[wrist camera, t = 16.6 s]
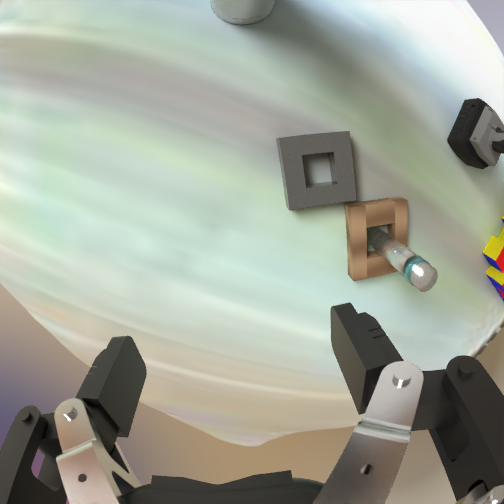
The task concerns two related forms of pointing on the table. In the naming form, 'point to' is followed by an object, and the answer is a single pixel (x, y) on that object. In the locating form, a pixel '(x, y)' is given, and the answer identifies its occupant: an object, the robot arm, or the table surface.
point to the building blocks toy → (496, 261)
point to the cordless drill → (477, 134)
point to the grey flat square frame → (340, 166)
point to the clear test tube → (403, 259)
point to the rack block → (356, 224)
